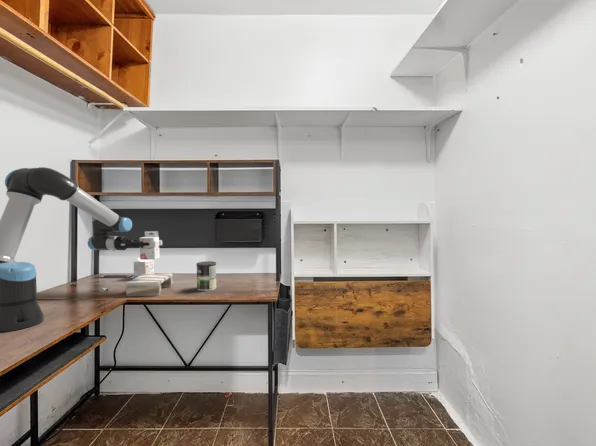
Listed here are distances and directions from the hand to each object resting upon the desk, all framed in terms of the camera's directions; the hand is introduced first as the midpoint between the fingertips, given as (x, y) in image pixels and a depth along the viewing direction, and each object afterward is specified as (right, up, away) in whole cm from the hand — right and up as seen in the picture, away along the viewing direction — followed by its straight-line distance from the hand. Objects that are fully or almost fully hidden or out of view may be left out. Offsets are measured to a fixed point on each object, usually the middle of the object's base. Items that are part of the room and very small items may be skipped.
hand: (158, 243), depth 166 cm
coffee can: (+24, -25, +5) cm, 35 cm away
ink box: (-23, -25, +31) cm, 45 cm away
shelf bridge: (-5, -25, +2) cm, 26 cm away
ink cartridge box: (-5, -9, +1) cm, 10 cm away
